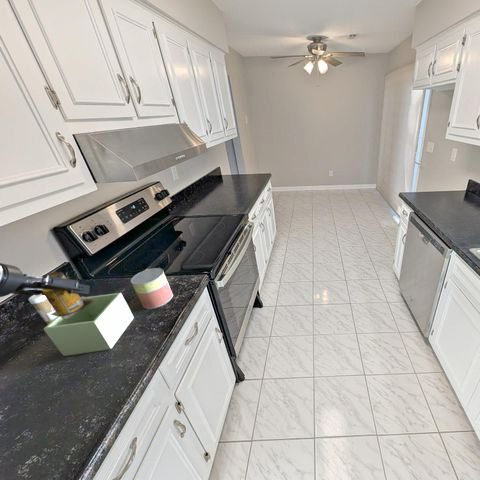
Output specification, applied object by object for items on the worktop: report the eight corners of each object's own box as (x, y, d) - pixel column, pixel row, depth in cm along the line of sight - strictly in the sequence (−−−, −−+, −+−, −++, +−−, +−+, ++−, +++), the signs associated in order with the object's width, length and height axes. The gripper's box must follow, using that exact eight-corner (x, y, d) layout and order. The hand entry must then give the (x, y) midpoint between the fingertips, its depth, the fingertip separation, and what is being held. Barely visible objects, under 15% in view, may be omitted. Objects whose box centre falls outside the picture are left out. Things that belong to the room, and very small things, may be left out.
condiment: (50, 314, 74) (27, 281, 69) (82, 296, 81) (63, 265, 76) (67, 319, 72) (43, 285, 67) (98, 300, 79) (79, 267, 74)
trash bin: (63, 356, 82) (43, 329, 77) (93, 323, 95) (77, 298, 90) (111, 349, 83) (94, 322, 78) (134, 317, 96) (121, 292, 91)
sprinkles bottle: (63, 324, 96) (44, 296, 90) (47, 330, 93) (26, 301, 87) (65, 317, 99) (46, 290, 93) (50, 323, 97) (29, 295, 91)
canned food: (178, 296, 107) (168, 272, 101) (150, 312, 98) (138, 287, 93) (164, 288, 113) (155, 265, 107) (137, 302, 104) (125, 278, 99)
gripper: (-67, 300, 55) (40, 307, 76) (29, 290, 56) (107, 299, 78) (-55, 267, 57) (45, 283, 79) (36, 257, 58) (110, 275, 80)
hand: (76, 291), depth 78 cm, fingers closed on condiment, 6 cm apart
